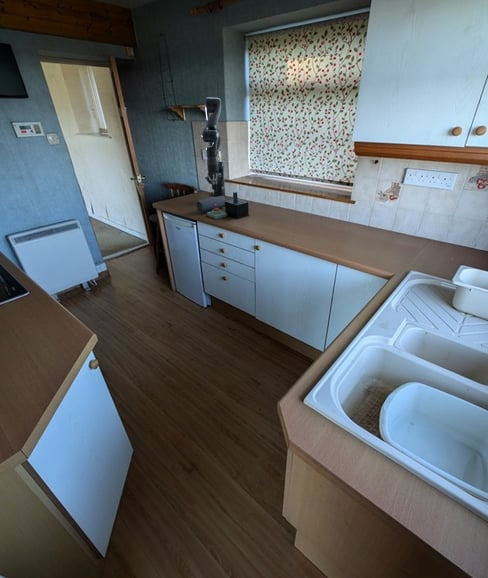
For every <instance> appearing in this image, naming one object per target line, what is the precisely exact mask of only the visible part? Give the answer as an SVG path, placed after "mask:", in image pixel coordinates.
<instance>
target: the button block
mask: <svg viewBox="0 0 488 578" xmlns="http://www.w3.org/2000/svg"><path fill="white" fill-rule="evenodd" d="M206 216H207V217H210V218H212V219H214V220H219V219H223V218H226V217H228V215H227V213H225V212H224V211H222V209H219V211H214V210H212V211H211V212H206Z"/></svg>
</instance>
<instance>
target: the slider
mask: <svg viewBox="0 0 488 578" xmlns="http://www.w3.org/2000/svg"><path fill="white" fill-rule="evenodd" d="M238 195H239V194H238V191H233V192H232V199H234V200H236V199H239V198H238V197H239V196H238Z"/></svg>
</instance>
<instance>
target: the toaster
mask: <svg viewBox="0 0 488 578" xmlns="http://www.w3.org/2000/svg"><path fill="white" fill-rule="evenodd" d="M224 211H225V212H224V213H227V217H231V218H233V219H236V220H238V219H242V218H246V217H249V216H250V213H249V201H246V200H242V199H239V198H238V199H236V200H234V199H233V198H232V199H229V200H226V201H225V207H224Z"/></svg>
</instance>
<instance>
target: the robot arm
mask: <svg viewBox="0 0 488 578" xmlns="http://www.w3.org/2000/svg"><path fill="white" fill-rule="evenodd" d="M204 108H205V116H206V117H205V118H206V124H205V127H204V129H203V130H202V132H201V139H202V141H203V142H204V143H208V146H206V148H205V155H206V170H207V176H204V178H205V180H206V181H207V183H208V184H210V185H211V189H212V190H213V191H211V192H210V194H209V195H210V196H212V197H218V196H224V197H225V198H226V199H227V197H226V196H227V195H226V183H225V182H226V181H225V164H224V161H223V160H219V158H218V150H219V148H220V147H221V144H222V140H221V139H222V138H221V137H222V135H221V131H220V130H219V128H218V122H219V118H220V117H221V113H222V100H221V99H220V98H218V97H205V99H204Z"/></svg>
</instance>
